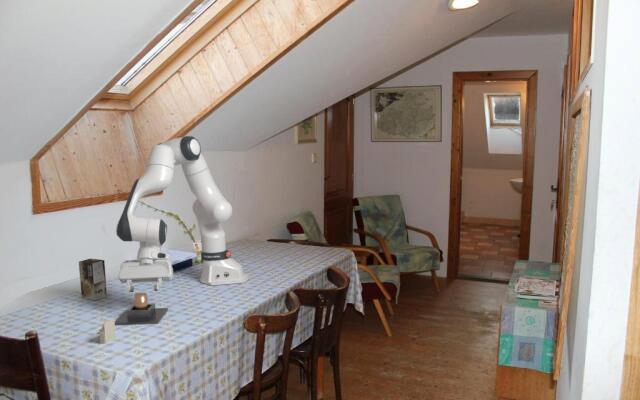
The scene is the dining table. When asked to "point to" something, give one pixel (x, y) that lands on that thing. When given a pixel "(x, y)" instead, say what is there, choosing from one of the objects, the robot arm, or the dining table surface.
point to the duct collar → (141, 316)
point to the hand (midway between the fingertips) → (143, 290)
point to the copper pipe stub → (141, 301)
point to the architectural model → (107, 331)
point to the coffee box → (93, 279)
